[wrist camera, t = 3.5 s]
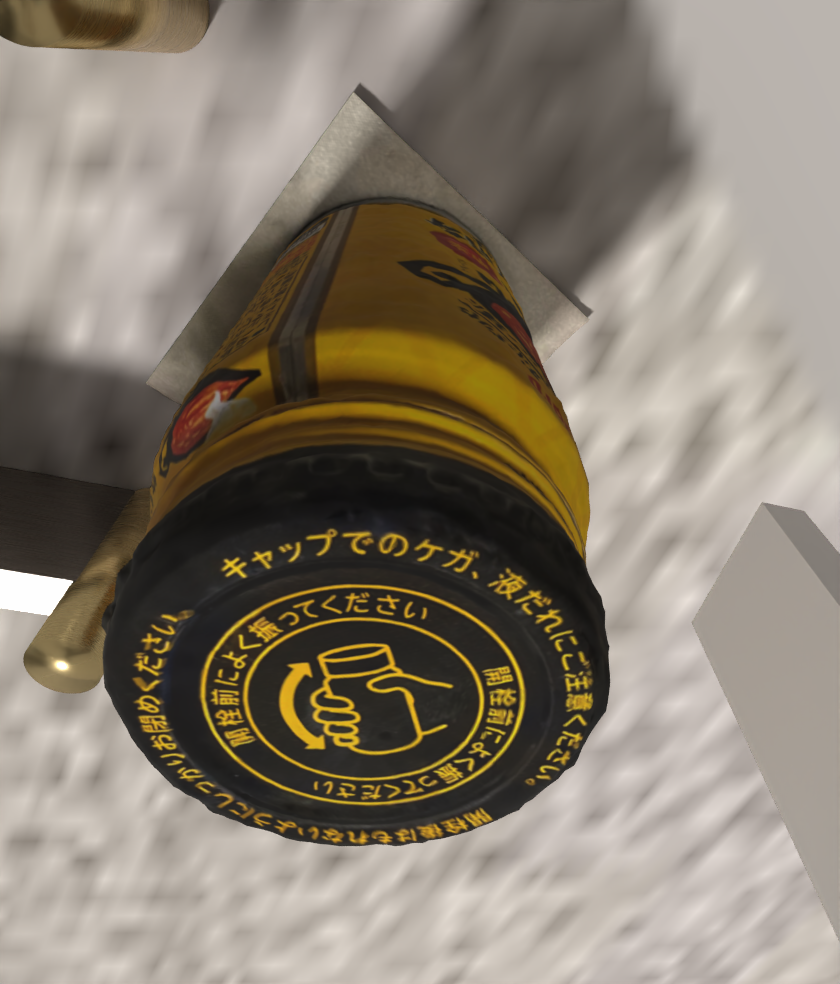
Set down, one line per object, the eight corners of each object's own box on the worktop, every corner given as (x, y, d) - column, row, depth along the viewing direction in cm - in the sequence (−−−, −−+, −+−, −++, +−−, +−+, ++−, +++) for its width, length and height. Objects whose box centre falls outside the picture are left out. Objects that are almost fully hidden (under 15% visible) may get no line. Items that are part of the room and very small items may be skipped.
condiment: (587, 316, 17) (846, 698, 7) (370, 530, 20) (324, 1001, 10) (354, 90, 14) (203, 157, 4) (149, 378, 18) (-211, 802, 8)
